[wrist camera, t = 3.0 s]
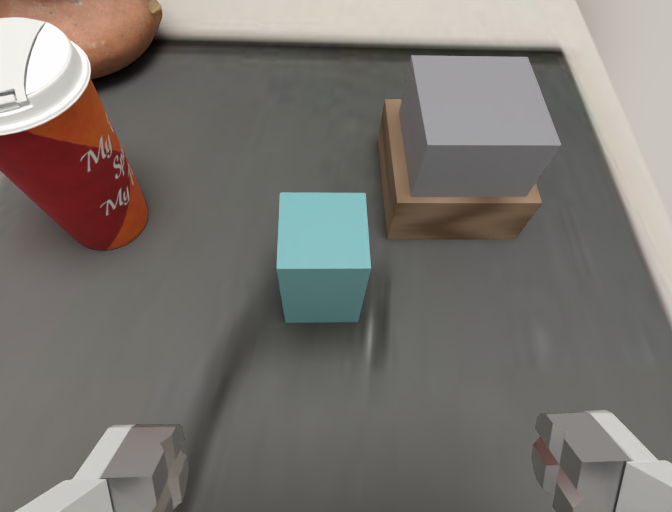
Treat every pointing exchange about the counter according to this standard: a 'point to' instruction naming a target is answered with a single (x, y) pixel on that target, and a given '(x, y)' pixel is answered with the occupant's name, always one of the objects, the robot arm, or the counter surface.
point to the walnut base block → (441, 199)
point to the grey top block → (474, 127)
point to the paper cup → (63, 138)
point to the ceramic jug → (96, 27)
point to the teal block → (323, 256)
